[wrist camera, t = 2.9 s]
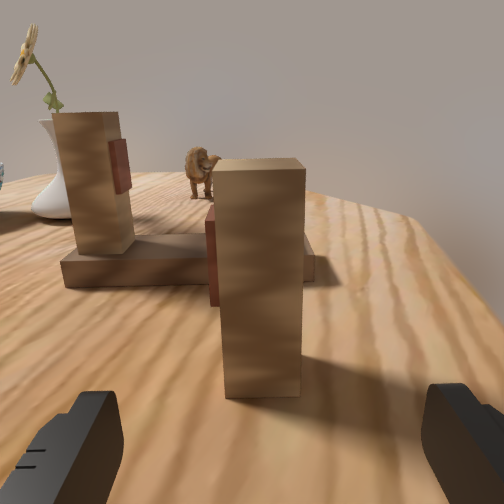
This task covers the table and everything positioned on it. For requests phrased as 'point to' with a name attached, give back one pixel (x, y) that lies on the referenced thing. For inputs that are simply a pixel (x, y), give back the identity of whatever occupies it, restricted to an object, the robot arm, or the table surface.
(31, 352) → the table surface
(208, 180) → the lion figurine
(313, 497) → the table surface
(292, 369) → the tall wooden pillar
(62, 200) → the flower in vase
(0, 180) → the chinaware
